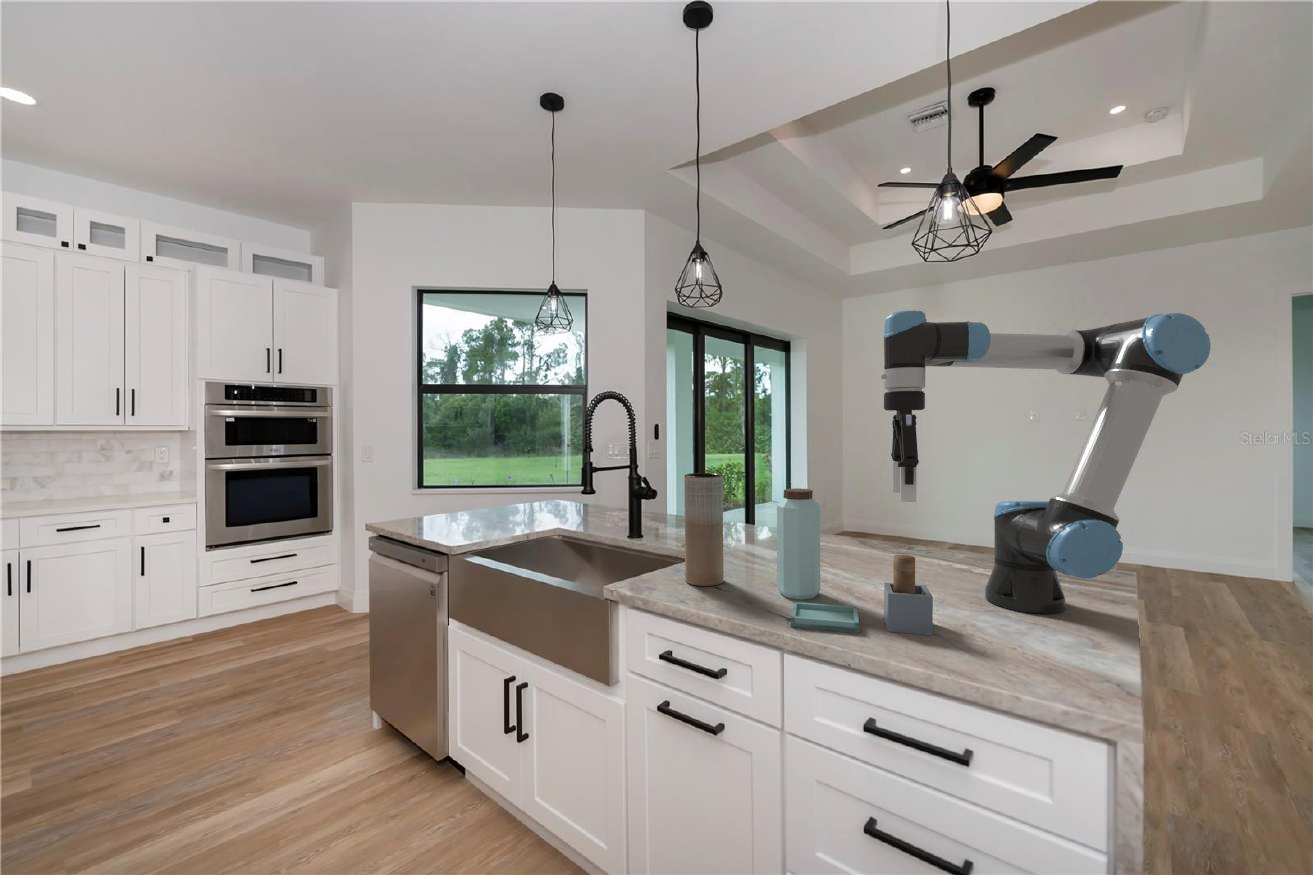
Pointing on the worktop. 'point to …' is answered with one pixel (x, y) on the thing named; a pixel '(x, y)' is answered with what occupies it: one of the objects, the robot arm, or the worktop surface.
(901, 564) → the dowel
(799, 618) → the tray
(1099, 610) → the worktop surface
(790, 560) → the water bottle
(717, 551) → the vase
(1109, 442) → the robot arm
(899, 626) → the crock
